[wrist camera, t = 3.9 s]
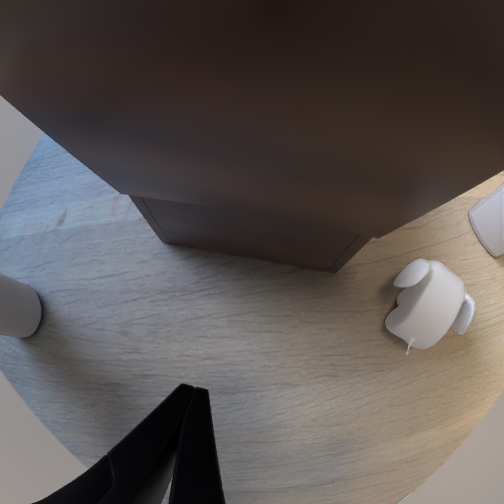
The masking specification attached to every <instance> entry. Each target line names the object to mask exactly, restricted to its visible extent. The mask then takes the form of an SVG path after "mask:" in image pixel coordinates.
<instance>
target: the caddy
mask: <svg viewBox="0 0 504 504" xmlns="http://www.w3.org/2000/svg"><path fill="white" fill-rule="evenodd" d="M129 197H130V198H131V200H132V201H133V202H134V204H135V205H136V207H137V208H138V210H139V211H140V212H141V214H142V215H143V217H144V218H145V219H146V221H147V222H148V224H149V225H150V226H151V228H152V229H153V230H154V232H155V233H156V235H157V236H158V237H159V239H160V240H161V241H162V242H166V243H171V244H176V245H182V246H187V247H193V248H198V249H203V250H209V251H214V252H220V253H225V254H231V255H236V256H241V257H247V258H252V259H258V260H263V261H269V262H274V263H280V264H285V265H291V266H297V267H302V268H308V269H313V270H319V271H324V272H330V273H336V272H338V270H339V269H340V268H341V267H343V266H344V265H345V264H346V263H347V262H348V261H349V260H350V259H351V258H352V257H353V256H354V255H355V254H356V253H357V252H358V251H359V250H360V249H361V248H362V247H363V246H364V245H365V244H366V243H367V242H368V241H369V240H370V239H371V238H372V237H369V236H364V235H359V234H354V233H349V232H345V231H340V230H335V229H329V228H324V227H319V226H314V225H309V224H304V223H298V222H293V221H288V220H282V219H277V218H271V217H265V216H260V215H254V214H248V213H243V212H237V211H231V210H225V209H219V208H213V207H206V206H200V205H194V204H187V203H181V202H174V201H168V200H161V199H154V198H147V197H140V196H133V195H129Z"/></svg>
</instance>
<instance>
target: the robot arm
mask: <svg viewBox="0 0 504 504" xmlns="http://www.w3.org/2000/svg"><path fill="white" fill-rule="evenodd" d="M172 476H173V477H172ZM171 478H172V484H171V490H170V497H169V504H226V503H225V498H224V492H223V489H222V481H221V475H220V469H219V463H218V456H217V450H216V443H215V436H214V429H213V422H212V414H211V407H210V399H209V391H208V390H207V389H204V388H200V387H195V388H194V386H192V385H187V384H180V385H179V386H178V387H177V388H176V389H175V390H174V391H173V392H172V393H171V394H170V395H169V396H168V397H167V398H166V399H165V400H164V401H163V402H161V403H160V404H159V405H158V406H157V407H156V408H155V409H154V410H153V411H152V412H151V413H150V414H149V415H148V416H147V417H146V418H145V419H144V420H143V421H142V422H140V423H139V424H138V425H137V426H136V427H135V428H134V429H133V430H132V431H131V432H130V433H129V434H128V435H127V436H126V437H124V438H123V439H122V440H121V441H120V442H119V443H118V444H117V445H116V446H115V447H114V448H112V449H111V450H110V451H109V452H108V453H107V455H105V456H104V457H102V458H101V459H100V460H99V461H98V462H97V463H96V464H94V465H93V466H92V467H91V468H90V469H88V470H87V471H86V472H85V473H83V474H82V475H81V476H79V477H77V478H76V479H75V480H73V481H72V482H70V483H68V484H67V485H65V486H64V487H62V488H61V489H59V490H58V491H56V492H54V493H53V494H51V495H49V496H48V497H46V498H44V499H43V500H40V501H38V502H35V503H32V504H161V503H162V500H163V498H164V495H165V493H166V490H167V488H168V485H169V483H170V481H171Z"/></svg>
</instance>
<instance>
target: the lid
mask: <svg viewBox="0 0 504 504" xmlns="http://www.w3.org/2000/svg"><path fill="white" fill-rule="evenodd" d="M0 95H1V96H2V97H3V98H4V99H5V100H6V101H8V102H9V103H10V104H11V105H12V106H14V107H15V108H16V109H17V110H18V111H19V112H21V113H22V114H23V115H24V116H25V117H27V118H28V119H29V120H30V121H31V122H32V123H34V124H35V125H36V126H37V127H38V128H40V129H41V130H42V131H43V132H44V133H46V134H47V135H48V136H49V137H51V138H52V139H53V140H54V141H55V142H57V143H58V144H59V145H60V146H62V147H63V148H64V149H65V150H66V151H68V152H69V153H70V154H71V155H73V156H74V157H75V158H76V159H78V160H79V161H80V162H81V163H83V164H84V165H85V166H86V167H88V168H89V169H90V170H91V171H93V172H94V173H95V174H96V175H98V176H99V177H100V178H101V179H103V180H104V181H105V182H107V183H108V184H109V185H110V186H112V187H113V188H114V189H115V190H117V191H118V192H119V193H121V194H126V195H133V196H140V197H147V198H154V199H161V200H168V201H174V202H181V203H187V204H194V205H200V206H206V207H213V208H219V209H225V210H231V211H237V212H243V213H248V214H254V215H260V216H265V217H271V218H277V219H282V220H288V221H293V222H298V223H304V224H309V225H314V226H319V227H324V228H329V229H335V230H340V231H345V232H349V233H354V234H359V235H364V236H369V237H374V238H380V237H382V236H384V235H386V234H388V233H390V232H392V231H394V230H396V229H398V228H400V227H401V226H403V225H405V224H407V223H409V222H411V221H413V220H415V219H417V218H419V217H421V216H422V215H424V214H426V213H428V212H430V211H432V210H434V209H436V208H437V207H439V206H441V205H443V204H445V203H447V202H448V201H450V200H452V199H454V198H456V197H458V196H459V195H461V194H463V193H465V192H467V191H468V190H470V189H472V188H474V187H476V186H477V185H479V184H481V183H483V182H484V181H486V180H488V179H490V178H491V177H493V176H495V175H497V174H498V173H500V172H502V171H504V0H0Z"/></svg>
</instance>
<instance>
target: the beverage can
mask: <svg viewBox="0 0 504 504" xmlns="http://www.w3.org/2000/svg"><path fill="white" fill-rule="evenodd" d="M40 319H41V304H40V301H39V298H38V296H37V294H36V292H35V291H34V289H33V288H31V287H30V286H29V285H27V284H24V283H22V282H19V281H17V280H15V279H12V278H10V277H8V276H5V275H3V274H1V273H0V335H5V336H11V337H18V338H25V337H28V336H30V335H31V334H33V333H34V332H35V330H36V329H37V327H38V325H39V323H40Z"/></svg>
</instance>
